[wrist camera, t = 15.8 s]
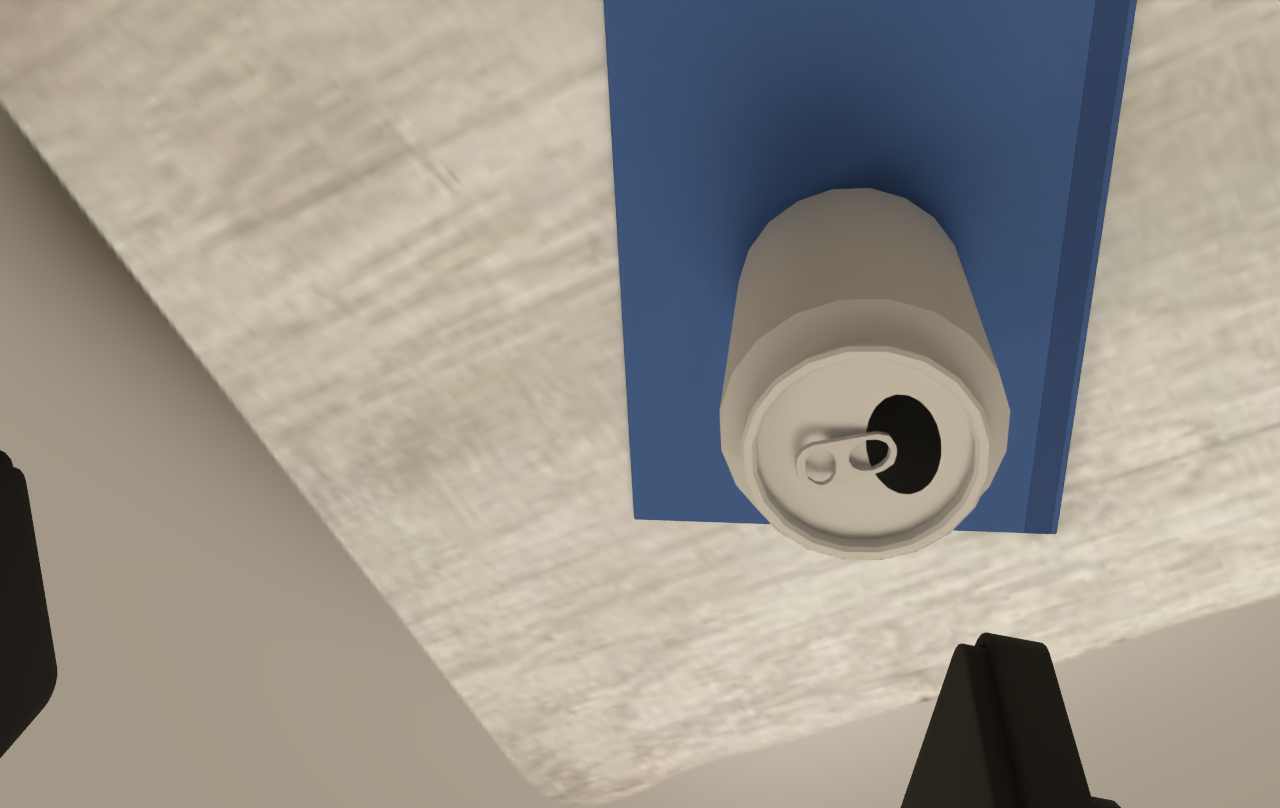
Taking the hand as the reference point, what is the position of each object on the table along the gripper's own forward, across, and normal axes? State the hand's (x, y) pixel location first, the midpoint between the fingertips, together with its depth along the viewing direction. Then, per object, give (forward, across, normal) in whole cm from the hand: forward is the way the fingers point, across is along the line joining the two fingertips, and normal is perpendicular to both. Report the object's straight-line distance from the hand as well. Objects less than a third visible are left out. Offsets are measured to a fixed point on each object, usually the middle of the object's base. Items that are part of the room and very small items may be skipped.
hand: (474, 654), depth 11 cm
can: (+28, -6, +6) cm, 29 cm away
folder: (+28, -6, +6) cm, 30 cm away
